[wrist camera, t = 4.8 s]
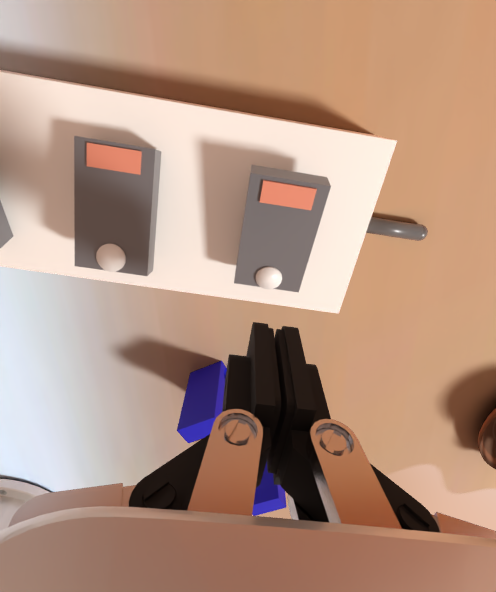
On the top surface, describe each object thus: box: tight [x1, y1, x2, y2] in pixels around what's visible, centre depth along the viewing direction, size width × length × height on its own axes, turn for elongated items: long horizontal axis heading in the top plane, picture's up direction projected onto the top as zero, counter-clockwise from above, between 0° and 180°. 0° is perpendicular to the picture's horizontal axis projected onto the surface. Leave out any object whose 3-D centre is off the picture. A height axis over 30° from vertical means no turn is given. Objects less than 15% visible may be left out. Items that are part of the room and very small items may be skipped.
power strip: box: [0, 70, 428, 313], centre depth 20 cm, size 10×31×4 cm, turn 81°
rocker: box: [74, 136, 161, 276], centre depth 17 cm, size 6×4×1 cm, turn 171°
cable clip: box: [177, 361, 286, 516], centre depth 28 cm, size 12×4×6 cm, turn 27°
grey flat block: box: [234, 165, 331, 292], centre depth 17 cm, size 6×4×1 cm, turn 172°
